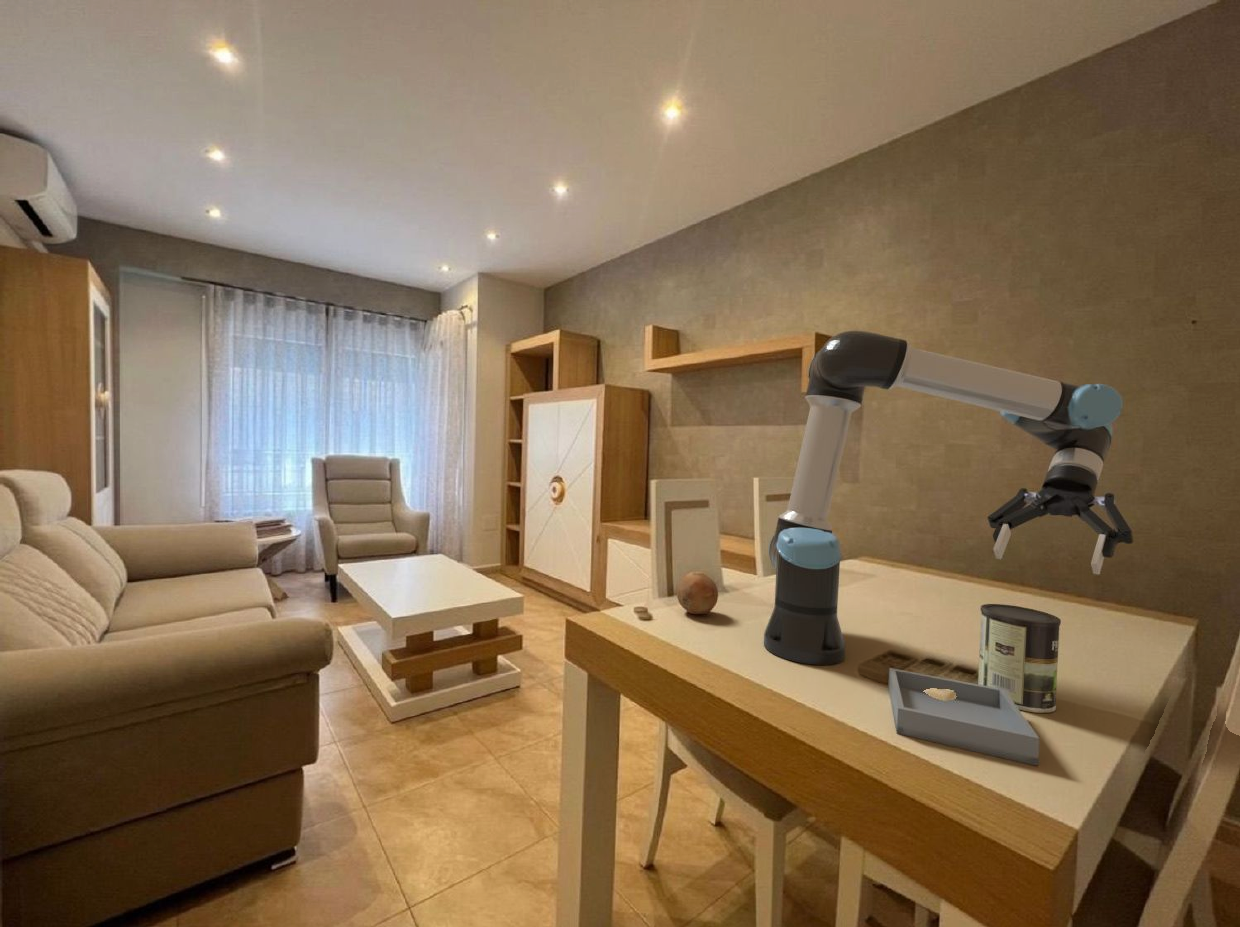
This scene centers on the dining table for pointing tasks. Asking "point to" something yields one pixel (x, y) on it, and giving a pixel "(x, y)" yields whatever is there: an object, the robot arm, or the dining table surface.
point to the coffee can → (1020, 655)
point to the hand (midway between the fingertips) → (1042, 561)
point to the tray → (962, 716)
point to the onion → (697, 593)
